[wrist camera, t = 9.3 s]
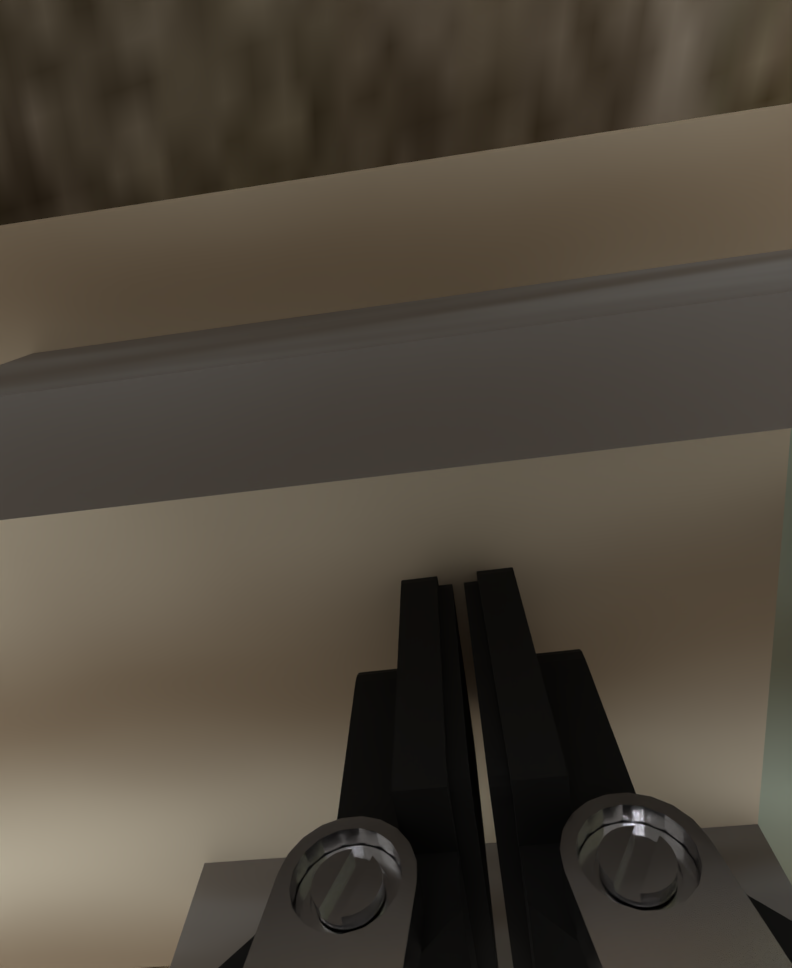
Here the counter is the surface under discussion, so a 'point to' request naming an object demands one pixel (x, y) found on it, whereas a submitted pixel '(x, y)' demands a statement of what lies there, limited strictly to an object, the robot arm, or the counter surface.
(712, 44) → the counter surface
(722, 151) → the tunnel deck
